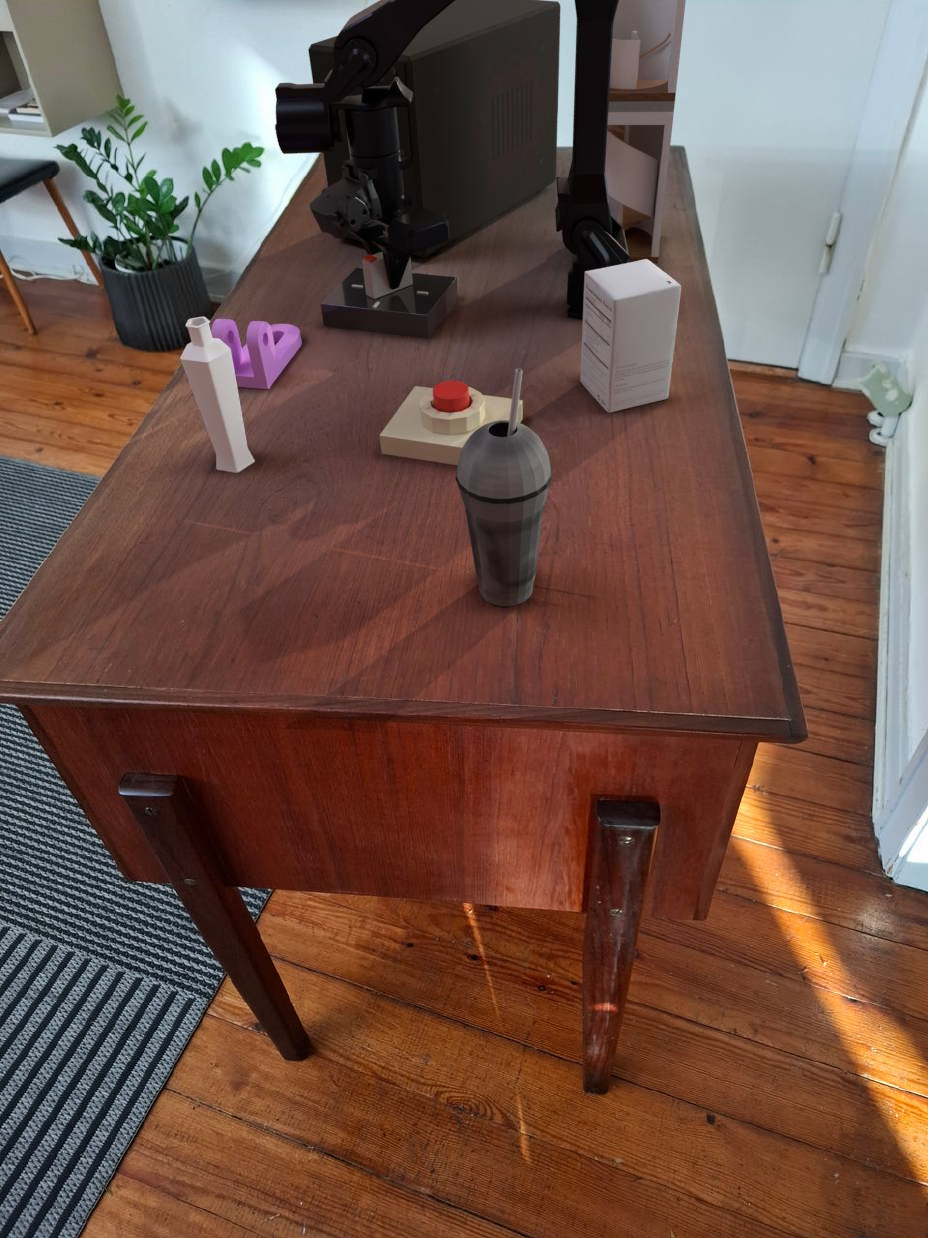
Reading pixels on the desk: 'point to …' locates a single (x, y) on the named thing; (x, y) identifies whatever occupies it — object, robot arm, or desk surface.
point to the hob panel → (391, 306)
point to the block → (440, 425)
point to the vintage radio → (471, 109)
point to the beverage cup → (504, 503)
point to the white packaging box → (628, 334)
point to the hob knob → (381, 276)
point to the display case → (642, 118)
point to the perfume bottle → (216, 395)
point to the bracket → (258, 350)
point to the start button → (451, 396)
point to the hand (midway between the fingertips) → (389, 285)
